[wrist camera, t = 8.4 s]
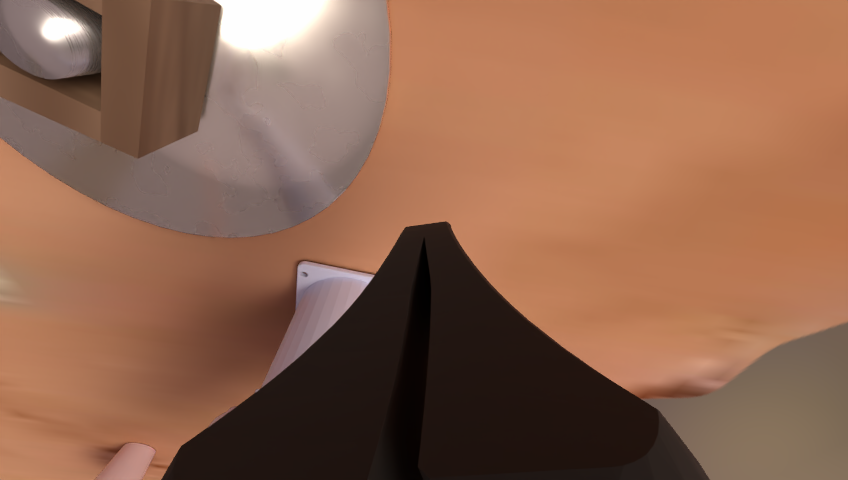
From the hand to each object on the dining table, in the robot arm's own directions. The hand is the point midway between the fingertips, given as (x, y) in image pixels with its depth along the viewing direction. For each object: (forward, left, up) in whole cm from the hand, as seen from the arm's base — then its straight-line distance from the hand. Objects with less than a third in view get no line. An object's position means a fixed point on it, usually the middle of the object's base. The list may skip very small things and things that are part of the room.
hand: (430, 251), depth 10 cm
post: (+2, +14, -10) cm, 17 cm away
